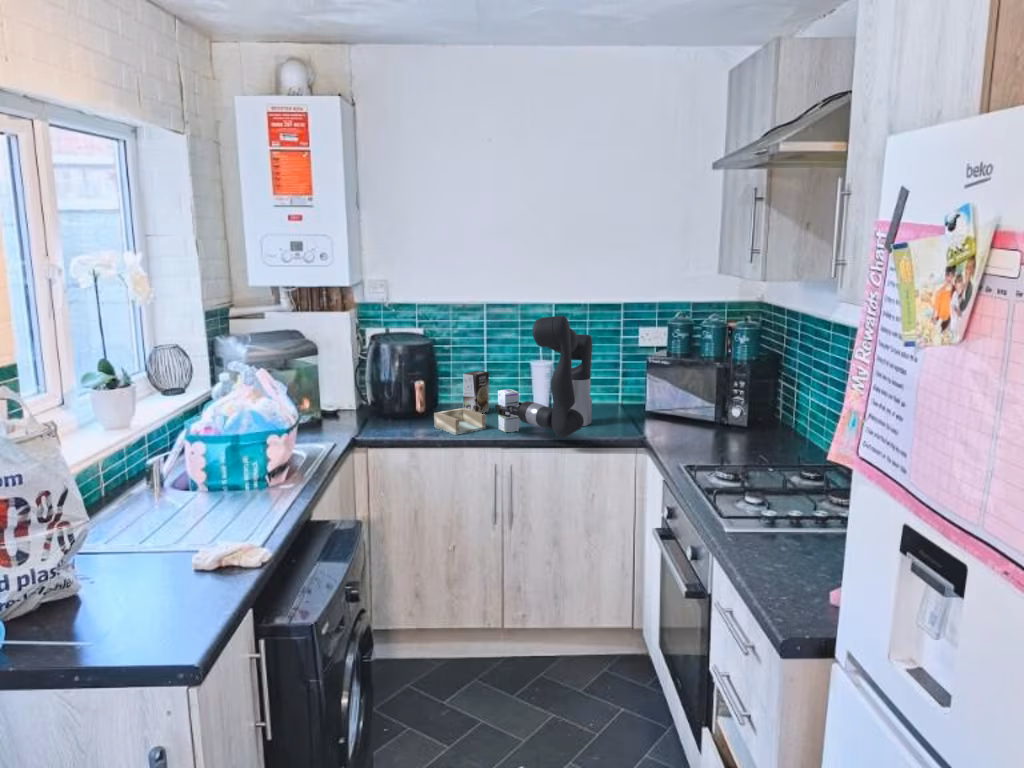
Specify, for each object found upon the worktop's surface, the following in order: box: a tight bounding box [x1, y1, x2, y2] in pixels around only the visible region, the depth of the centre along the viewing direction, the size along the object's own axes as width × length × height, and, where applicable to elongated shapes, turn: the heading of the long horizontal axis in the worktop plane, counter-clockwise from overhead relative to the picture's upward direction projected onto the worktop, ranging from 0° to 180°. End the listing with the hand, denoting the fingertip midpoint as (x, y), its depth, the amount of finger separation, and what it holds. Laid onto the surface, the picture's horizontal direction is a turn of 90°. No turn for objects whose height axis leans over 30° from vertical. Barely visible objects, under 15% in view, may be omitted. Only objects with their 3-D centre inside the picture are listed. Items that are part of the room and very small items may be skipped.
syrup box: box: [497, 388, 520, 434], centre depth 271 cm, size 6×6×14 cm
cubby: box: [433, 407, 487, 436], centre depth 275 cm, size 13×14×6 cm
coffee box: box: [462, 370, 490, 414], centre depth 297 cm, size 9×6×16 cm
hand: (505, 405), depth 272 cm, fingers open, 8 cm apart
